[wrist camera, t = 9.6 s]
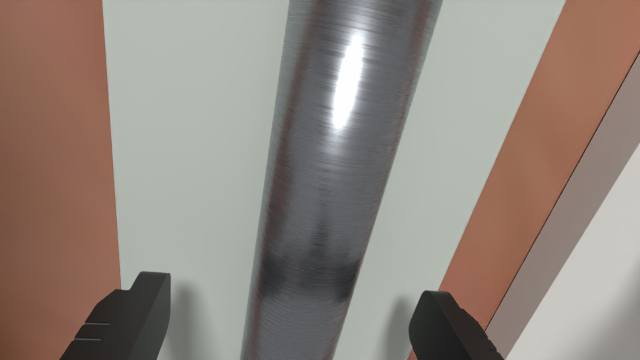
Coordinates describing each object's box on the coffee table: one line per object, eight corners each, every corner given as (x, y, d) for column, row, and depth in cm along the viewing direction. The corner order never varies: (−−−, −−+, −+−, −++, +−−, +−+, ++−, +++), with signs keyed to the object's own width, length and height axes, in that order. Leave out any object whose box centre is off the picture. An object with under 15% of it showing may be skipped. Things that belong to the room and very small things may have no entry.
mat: (138, 463, 16) (134, 477, 16) (91, -417, 6) (71, -467, 5) (357, 453, 19) (360, 466, 18) (626, -181, 8) (652, -196, 7)
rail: (282, 455, 17) (291, 539, 14) (220, 467, 16) (217, 560, 13) (454, -204, 7) (603, -360, 4) (316, -279, 6) (389, -545, 3)
